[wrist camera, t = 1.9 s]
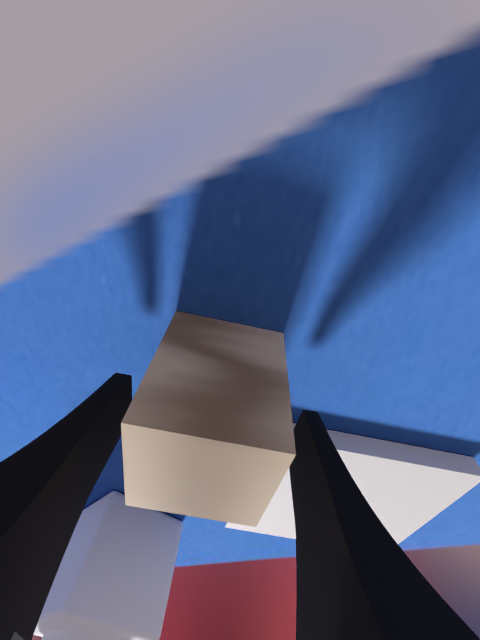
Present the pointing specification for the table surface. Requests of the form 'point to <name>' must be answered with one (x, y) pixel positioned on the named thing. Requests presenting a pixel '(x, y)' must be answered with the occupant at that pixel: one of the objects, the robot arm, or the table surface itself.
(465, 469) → the white board
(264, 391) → the maple block
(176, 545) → the medicine bottle
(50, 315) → the table surface
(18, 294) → the table surface
